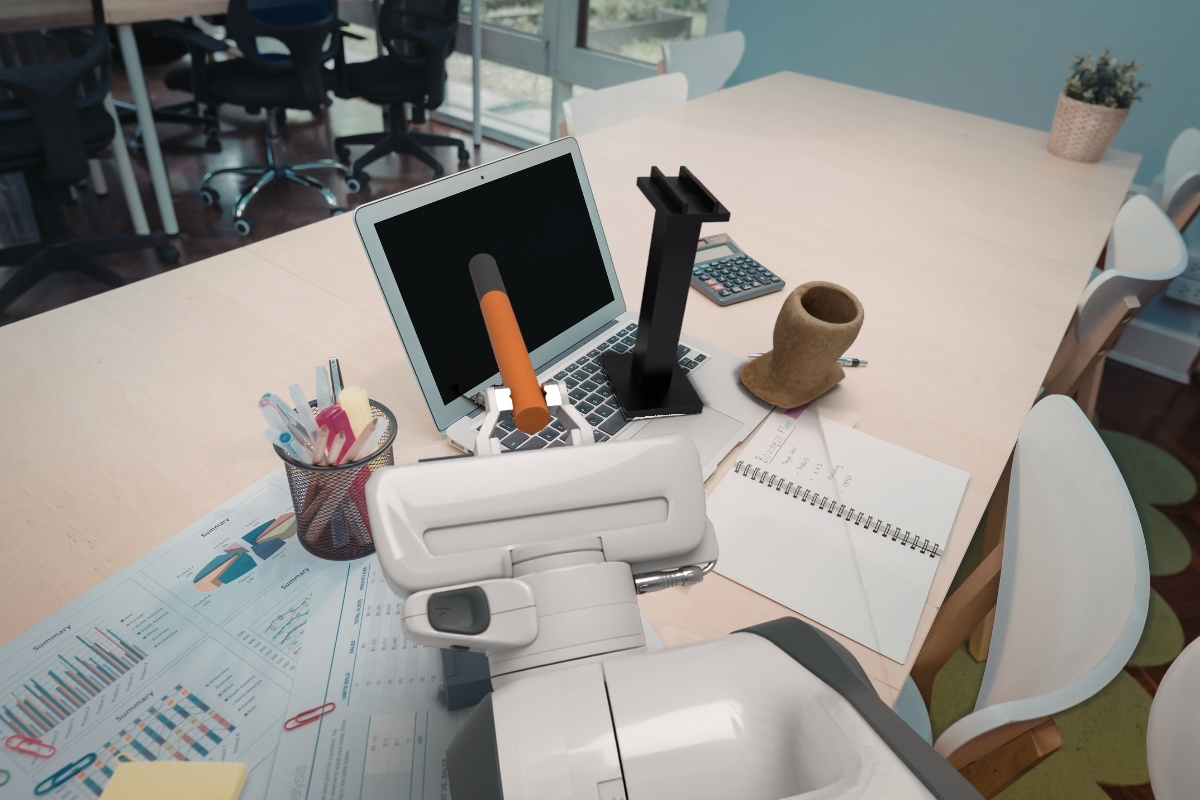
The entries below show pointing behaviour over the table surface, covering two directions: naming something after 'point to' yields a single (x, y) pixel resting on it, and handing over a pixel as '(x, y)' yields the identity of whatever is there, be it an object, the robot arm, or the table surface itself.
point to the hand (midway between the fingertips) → (523, 387)
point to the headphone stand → (664, 299)
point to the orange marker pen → (509, 346)
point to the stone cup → (806, 345)
